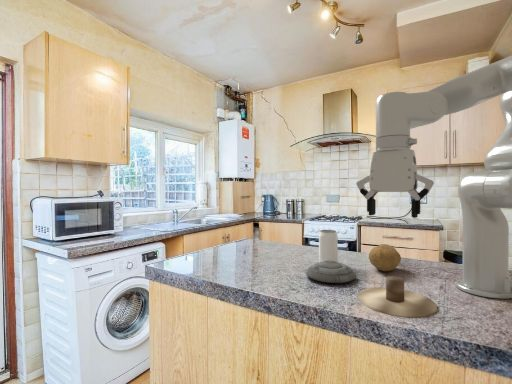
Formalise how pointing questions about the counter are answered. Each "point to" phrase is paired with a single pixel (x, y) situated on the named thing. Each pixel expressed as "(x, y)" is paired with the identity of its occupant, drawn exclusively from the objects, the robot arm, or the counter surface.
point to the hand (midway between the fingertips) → (392, 216)
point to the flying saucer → (331, 272)
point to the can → (328, 245)
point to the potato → (384, 257)
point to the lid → (397, 300)
